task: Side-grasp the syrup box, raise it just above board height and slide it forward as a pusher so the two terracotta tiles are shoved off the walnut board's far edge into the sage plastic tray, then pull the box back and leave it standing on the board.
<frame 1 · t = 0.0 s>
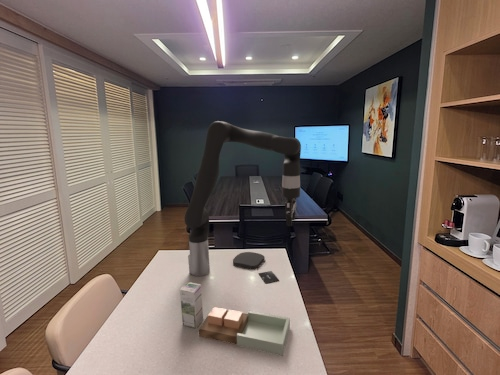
hand: (290, 222, 122), 29 cm above the table, tool pointing down, fingers open, 8 cm apart
board: (224, 328, 100), on the table
tile b: (233, 322, 98), point 3 cm above the table, touching board
tray: (263, 336, 96), on the table
tile a: (217, 319, 100), point 3 cm above the table, touching board
media streaming box: (248, 262, 151), on the table
solid state drive: (268, 278, 134), on the table
syrup box: (193, 322, 104), on the table
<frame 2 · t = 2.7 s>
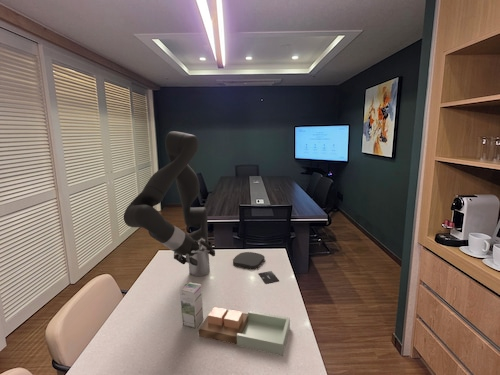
hand: (205, 258, 109), 20 cm above the table, tool tilted 45°, fingers open, 8 cm apart
nothing on the table moved.
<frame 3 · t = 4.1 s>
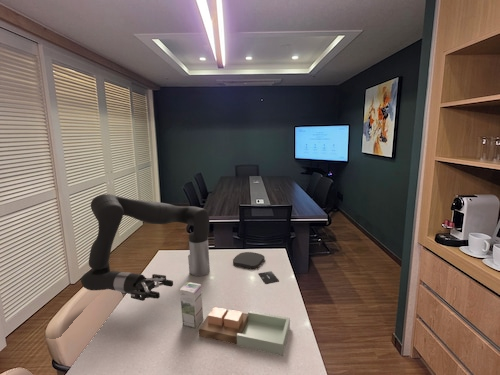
hand: (166, 289, 104), 12 cm above the table, tool horizontal, fingers open, 8 cm apart
nothing on the table moved.
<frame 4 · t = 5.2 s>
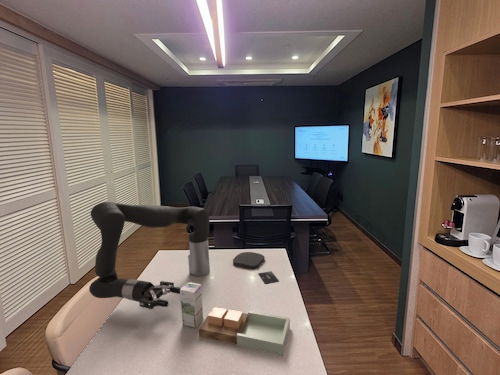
hand: (174, 297, 104), 9 cm above the table, tool horizontal, fingers open, 8 cm apart
nothing on the table moved.
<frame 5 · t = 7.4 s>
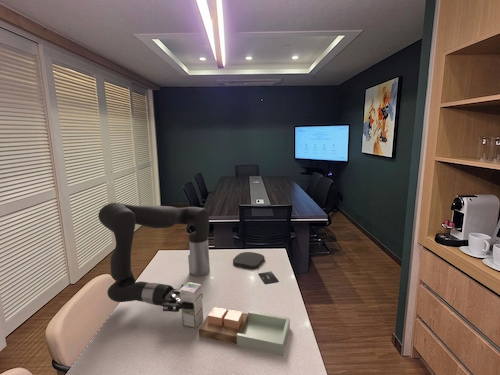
hand: (197, 301, 101), 9 cm above the table, tool horizontal, fingers closed on syrup box, 6 cm apart
syrup box: (193, 322, 104), on the table, touching gripper
everything else where it was.
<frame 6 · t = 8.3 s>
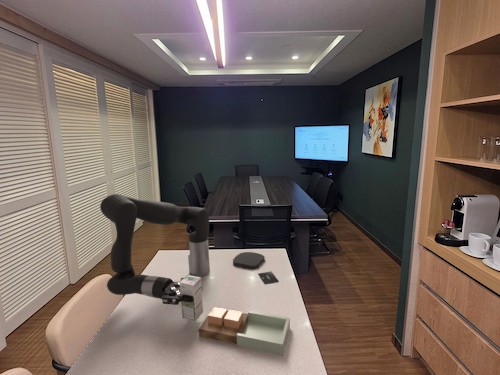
hand: (197, 294, 101), 12 cm above the table, tool horizontal, fingers closed on syrup box, 6 cm apart
syrup box: (192, 315, 103), point 2 cm above the table, touching gripper
everything else where it was.
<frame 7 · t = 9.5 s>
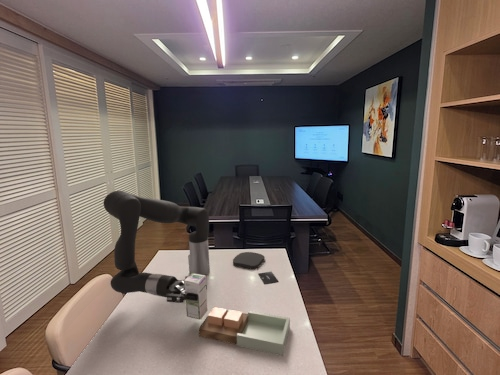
hand: (202, 292, 100), 13 cm above the table, tool horizontal, fingers closed on syrup box, 6 cm apart
syrup box: (197, 314, 102), point 4 cm above the table, touching gripper
everything else where it was.
when the fingers open (12 cm above the table, at t = 15.8 s): syrup box stays where it is, resting on board.
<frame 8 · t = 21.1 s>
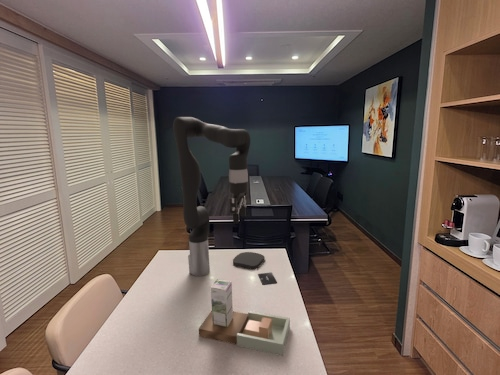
hand: (239, 219, 115), 33 cm above the table, tool pointing down, fingers open, 8 cm apart
tile b: (261, 328, 95), point 3 cm above the table, tilted 90°, touching tray
tile a: (254, 333, 96), point 1 cm above the table, touching tray
syrup box: (223, 321, 99), point 3 cm above the table, touching board
at the end: tile b inside the target area on the tray (1.3 cm from its centre), point 3.1 cm above the tray's base; tile a inside the target area on the tray (3.8 cm from its centre), point 0.6 cm above the tray's base; the gripper is holding nothing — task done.
